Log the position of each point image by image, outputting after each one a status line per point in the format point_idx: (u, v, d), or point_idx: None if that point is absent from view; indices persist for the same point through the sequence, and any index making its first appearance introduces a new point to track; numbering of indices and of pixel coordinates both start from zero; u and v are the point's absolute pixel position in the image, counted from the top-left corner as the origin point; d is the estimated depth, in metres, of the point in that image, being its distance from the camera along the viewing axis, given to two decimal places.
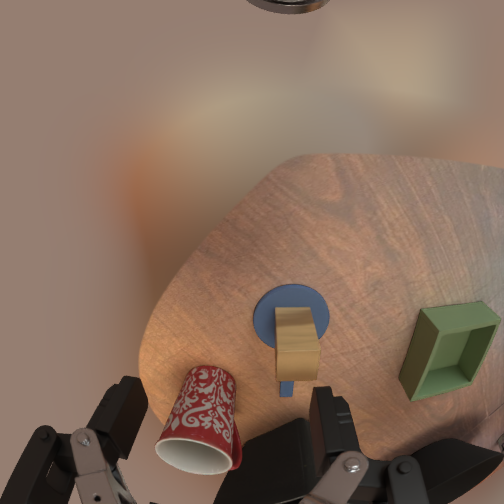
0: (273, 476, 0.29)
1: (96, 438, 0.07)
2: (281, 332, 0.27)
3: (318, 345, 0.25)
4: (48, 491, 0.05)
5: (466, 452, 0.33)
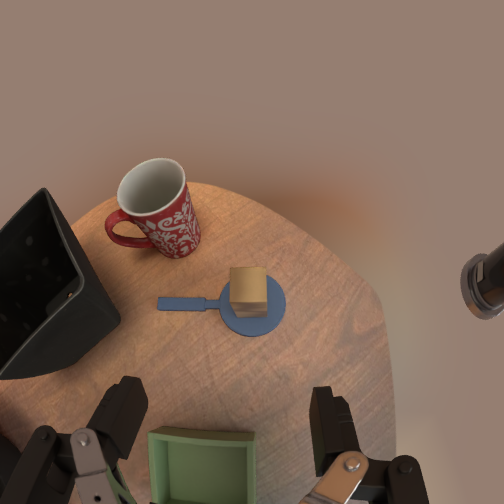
0: (85, 264, 0.30)
1: (96, 438, 0.07)
2: None
3: None
4: (48, 491, 0.05)
5: None
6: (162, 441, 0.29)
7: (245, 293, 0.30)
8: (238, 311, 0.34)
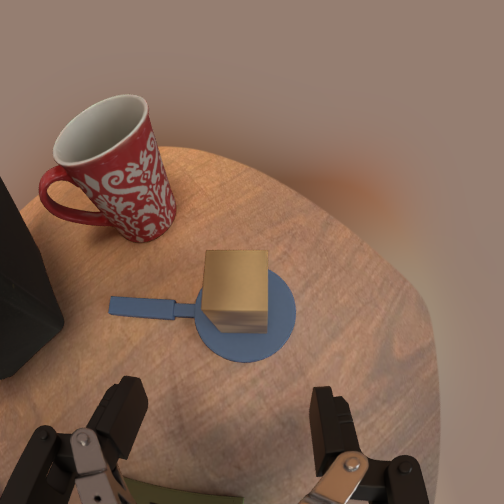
0: (5, 240, 0.17)
1: (96, 438, 0.07)
2: None
3: (267, 311, 0.17)
4: (48, 491, 0.05)
5: None
6: None
7: (229, 295, 0.17)
8: (220, 324, 0.20)
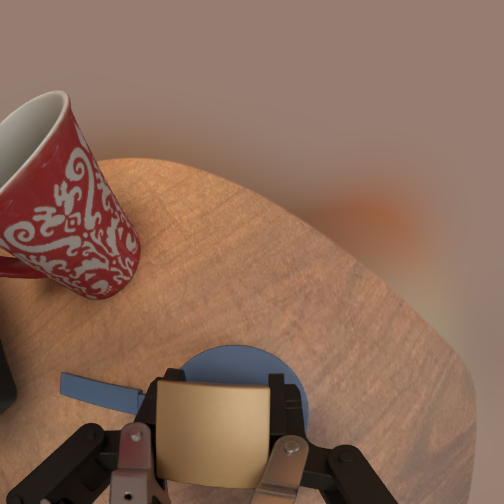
0: None
1: (149, 432, 0.08)
2: None
3: None
4: (77, 487, 0.06)
5: None
6: None
7: (201, 464, 0.07)
8: None
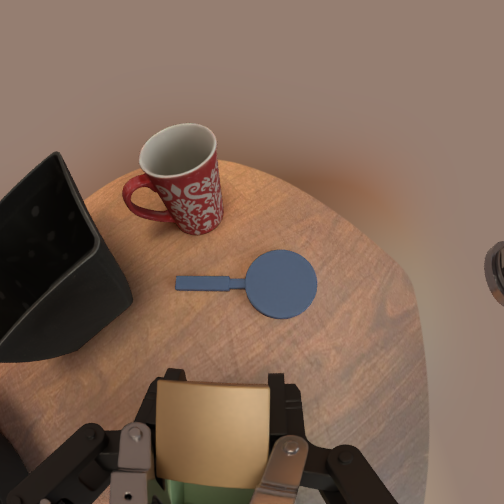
0: None
1: (150, 432, 0.08)
2: None
3: None
4: (77, 487, 0.06)
5: None
6: None
7: (201, 463, 0.08)
8: None
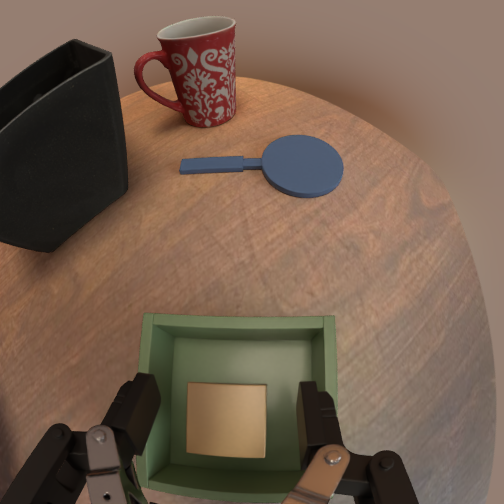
0: None
1: (113, 435, 0.08)
2: None
3: None
4: (57, 489, 0.05)
5: None
6: (166, 345, 0.20)
7: (219, 440, 0.12)
8: None
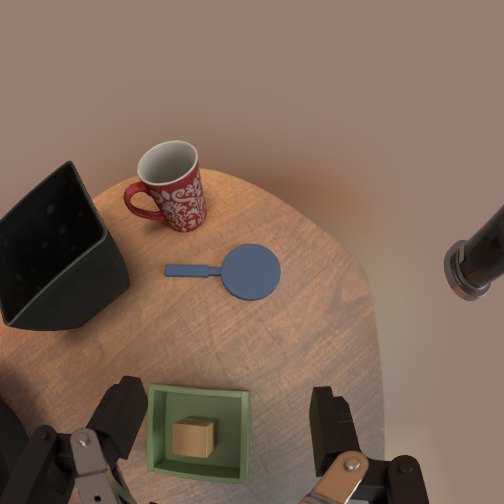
0: None
1: (96, 438, 0.07)
2: (211, 426, 0.29)
3: (208, 455, 0.25)
4: (48, 491, 0.05)
5: None
6: (161, 396, 0.33)
7: (186, 448, 0.25)
8: None
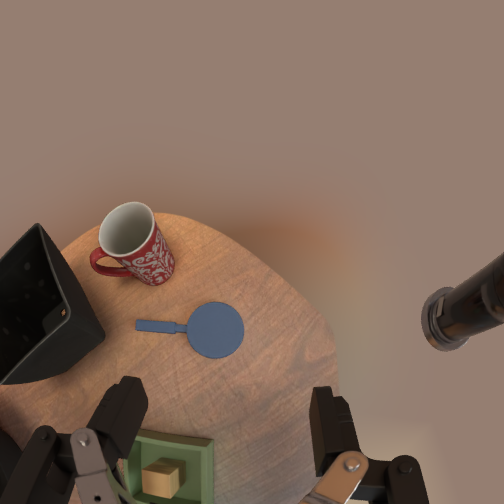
0: (73, 293, 0.34)
1: (96, 438, 0.07)
2: (176, 472, 0.28)
3: (172, 496, 0.25)
4: (48, 491, 0.05)
5: None
6: (135, 441, 0.33)
7: (154, 490, 0.25)
8: None
